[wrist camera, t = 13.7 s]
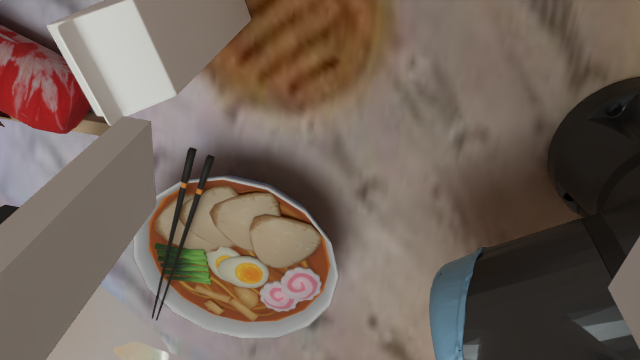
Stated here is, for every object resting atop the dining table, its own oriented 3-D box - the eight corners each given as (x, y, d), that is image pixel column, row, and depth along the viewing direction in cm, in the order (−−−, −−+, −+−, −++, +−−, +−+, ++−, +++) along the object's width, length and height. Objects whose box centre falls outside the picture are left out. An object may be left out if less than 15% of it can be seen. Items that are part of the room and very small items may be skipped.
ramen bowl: (300, 322, 67) (289, 374, 60) (140, 260, 64) (110, 306, 57) (382, 184, 53) (381, 230, 47) (185, 100, 51) (152, 135, 44)
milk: (228, -48, 43) (104, 8, 24) (252, 20, 46) (158, 117, 27) (168, -28, 44) (8, 39, 26) (195, 37, 47) (68, 139, 29)
